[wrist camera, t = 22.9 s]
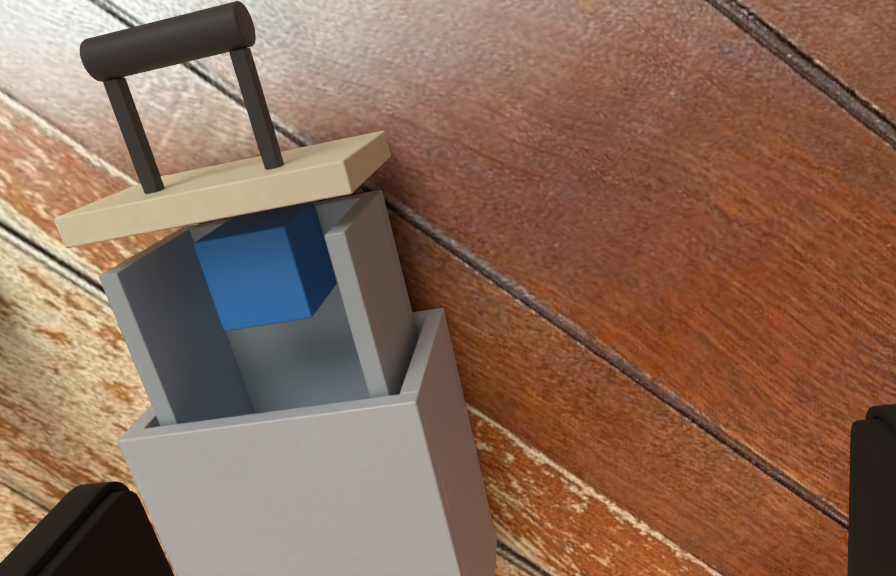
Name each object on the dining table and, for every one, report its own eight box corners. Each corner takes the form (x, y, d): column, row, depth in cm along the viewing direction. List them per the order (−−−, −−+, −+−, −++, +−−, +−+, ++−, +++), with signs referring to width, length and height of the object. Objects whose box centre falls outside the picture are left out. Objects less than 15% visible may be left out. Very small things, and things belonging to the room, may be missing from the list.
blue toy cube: (232, 217, 30) (191, 243, 27) (313, 201, 30) (284, 226, 26) (258, 296, 32) (223, 332, 28) (337, 283, 31) (312, 318, 27)
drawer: (107, 51, 29) (-17, 57, 23) (351, -10, 27) (295, -22, 21) (242, 421, 36) (177, 513, 29) (448, 394, 34) (429, 485, 27)
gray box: (213, 342, 35) (115, 441, 27) (443, 306, 33) (415, 401, 25) (291, 558, 40) (229, 698, 32) (497, 539, 38) (489, 684, 30)
